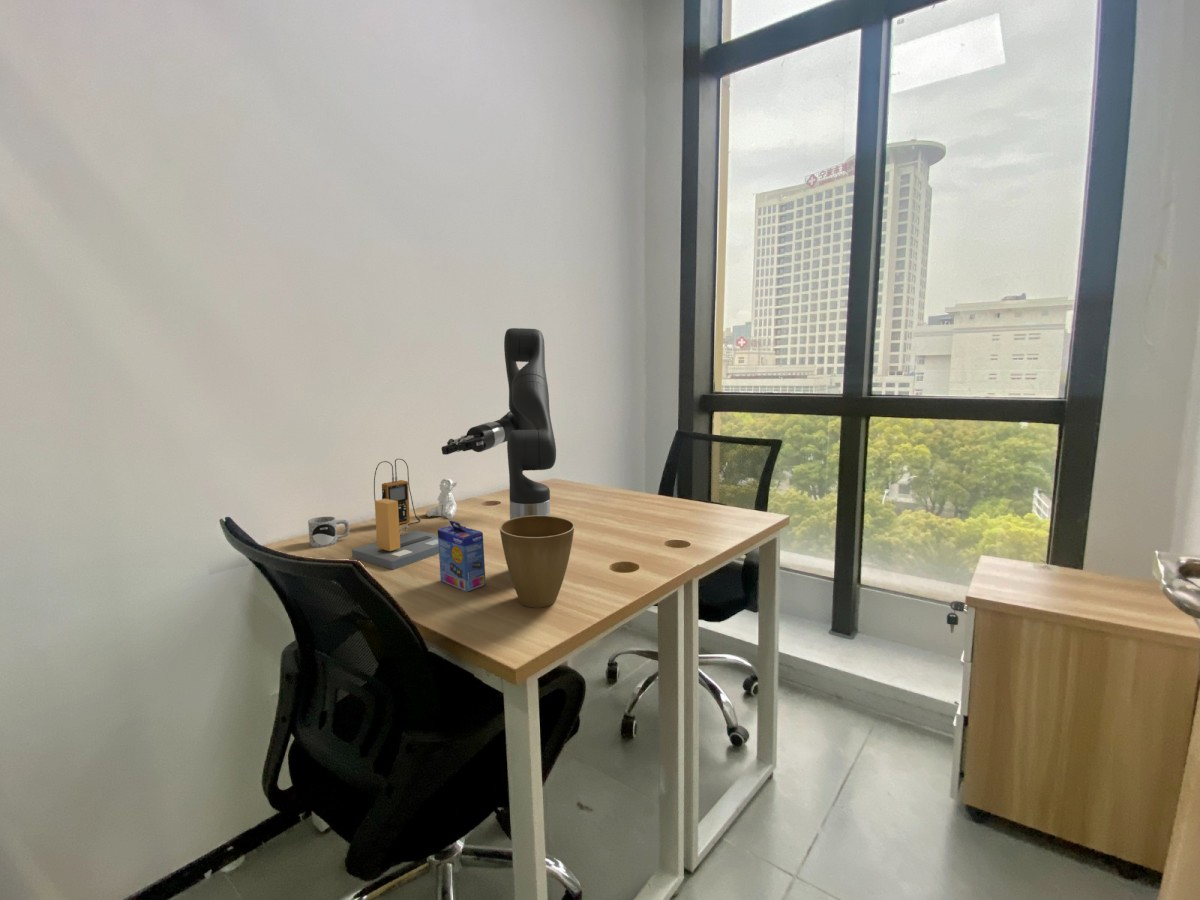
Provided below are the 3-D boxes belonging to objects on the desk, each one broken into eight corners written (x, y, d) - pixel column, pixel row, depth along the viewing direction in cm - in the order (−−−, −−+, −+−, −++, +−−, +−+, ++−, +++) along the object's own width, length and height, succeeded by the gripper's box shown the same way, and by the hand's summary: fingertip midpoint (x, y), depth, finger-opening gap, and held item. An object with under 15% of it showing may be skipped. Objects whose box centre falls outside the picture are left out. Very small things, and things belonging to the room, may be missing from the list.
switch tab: (400, 547, 140) (397, 501, 138) (390, 551, 137) (387, 503, 135) (387, 544, 142) (385, 498, 141) (377, 547, 140) (374, 500, 138)
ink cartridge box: (438, 581, 124) (435, 518, 122) (458, 574, 129) (456, 513, 126) (465, 593, 118) (463, 526, 116) (486, 585, 122) (484, 521, 120)
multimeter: (391, 535, 159) (387, 466, 156) (372, 529, 165) (368, 462, 162) (435, 523, 170) (432, 459, 167) (415, 518, 176) (412, 455, 173)
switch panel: (457, 546, 148) (456, 538, 148) (392, 569, 132) (392, 560, 131) (417, 537, 157) (416, 529, 157) (352, 557, 140) (351, 548, 140)
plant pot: (486, 604, 112) (483, 527, 110) (534, 581, 124) (533, 511, 122) (543, 623, 104) (542, 541, 102) (589, 596, 116) (588, 522, 114)
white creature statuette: (425, 516, 178) (423, 480, 176) (440, 510, 186) (439, 475, 185) (450, 519, 175) (449, 482, 173) (465, 512, 183) (464, 476, 182)
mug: (312, 549, 147) (310, 524, 146) (307, 542, 152) (306, 519, 151) (352, 542, 152) (351, 518, 152) (347, 536, 158) (345, 513, 157)
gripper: (467, 424, 168) (423, 437, 153) (501, 423, 161) (459, 437, 147) (471, 448, 169) (429, 464, 155) (505, 448, 163) (464, 464, 148)
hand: (443, 450), depth 151 cm, fingers closed
